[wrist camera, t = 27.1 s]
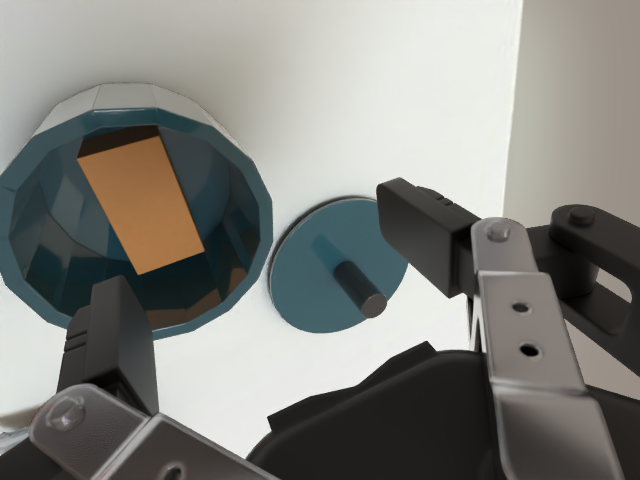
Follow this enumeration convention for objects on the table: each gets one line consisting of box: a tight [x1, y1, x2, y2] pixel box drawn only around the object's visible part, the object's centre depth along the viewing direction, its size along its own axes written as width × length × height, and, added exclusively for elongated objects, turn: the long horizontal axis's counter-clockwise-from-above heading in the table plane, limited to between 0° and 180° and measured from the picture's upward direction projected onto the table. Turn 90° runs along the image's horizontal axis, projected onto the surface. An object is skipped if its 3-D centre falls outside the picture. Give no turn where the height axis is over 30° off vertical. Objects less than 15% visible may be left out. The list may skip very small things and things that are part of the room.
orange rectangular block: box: [77, 125, 205, 275], centre depth 26 cm, size 8×4×4 cm, turn 10°
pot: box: [0, 83, 273, 341], centre depth 24 cm, size 13×13×8 cm
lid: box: [269, 198, 408, 333], centre depth 35 cm, size 14×14×7 cm
